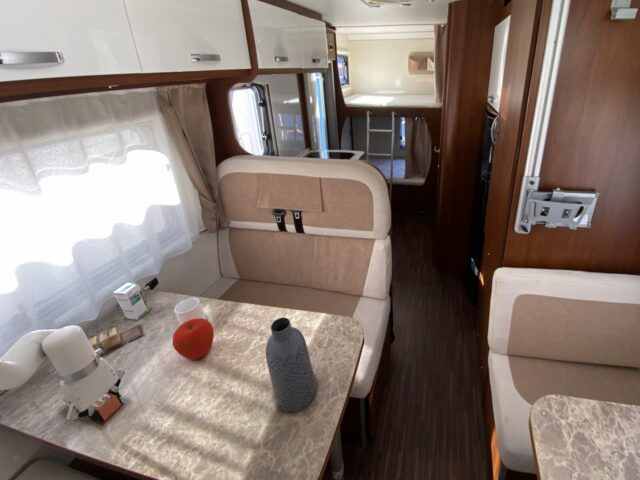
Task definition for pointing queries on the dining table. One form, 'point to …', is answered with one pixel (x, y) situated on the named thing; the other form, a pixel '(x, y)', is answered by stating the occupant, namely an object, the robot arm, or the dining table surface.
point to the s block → (106, 405)
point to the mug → (189, 310)
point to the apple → (193, 338)
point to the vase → (289, 367)
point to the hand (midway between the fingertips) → (107, 409)
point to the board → (114, 339)
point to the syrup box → (131, 301)
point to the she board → (95, 420)
